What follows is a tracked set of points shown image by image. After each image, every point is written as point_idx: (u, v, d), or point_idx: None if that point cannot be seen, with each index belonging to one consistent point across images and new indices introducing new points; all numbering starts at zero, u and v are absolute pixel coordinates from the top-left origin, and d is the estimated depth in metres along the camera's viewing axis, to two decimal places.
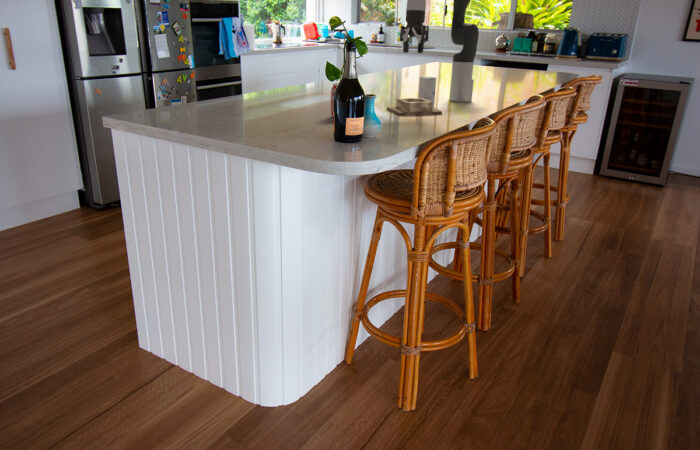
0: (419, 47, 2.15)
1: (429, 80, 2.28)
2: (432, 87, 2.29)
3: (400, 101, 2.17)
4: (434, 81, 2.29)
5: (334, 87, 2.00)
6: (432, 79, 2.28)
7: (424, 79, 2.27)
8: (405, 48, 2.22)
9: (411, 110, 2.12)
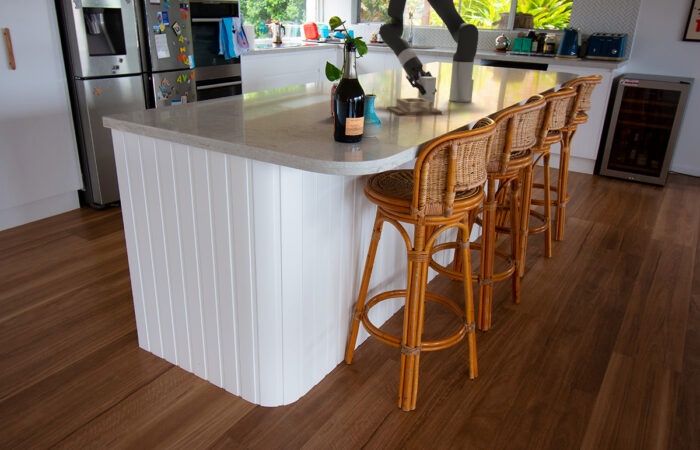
0: (420, 91, 2.29)
1: (429, 80, 2.28)
2: (432, 87, 2.29)
3: (400, 101, 2.17)
4: (434, 81, 2.29)
5: (334, 87, 2.00)
6: (432, 79, 2.28)
7: (424, 79, 2.27)
8: None
9: (411, 110, 2.12)
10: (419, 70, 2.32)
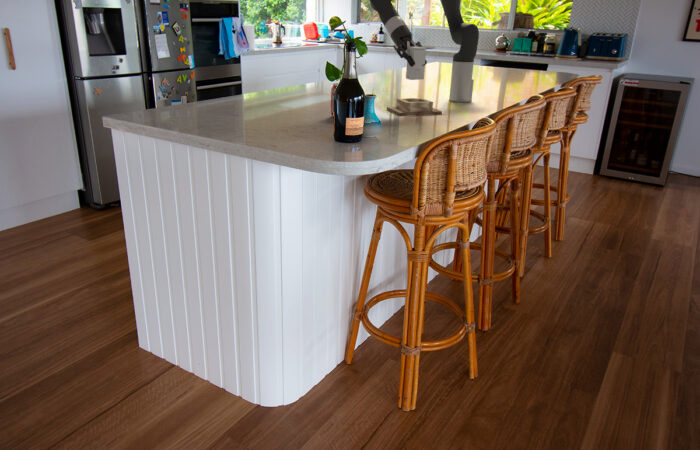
0: None
1: (418, 50, 2.09)
2: (421, 58, 2.10)
3: (400, 101, 2.17)
4: (424, 51, 2.10)
5: (334, 87, 2.00)
6: (421, 49, 2.09)
7: (413, 49, 2.08)
8: None
9: (411, 110, 2.12)
10: (408, 40, 2.13)
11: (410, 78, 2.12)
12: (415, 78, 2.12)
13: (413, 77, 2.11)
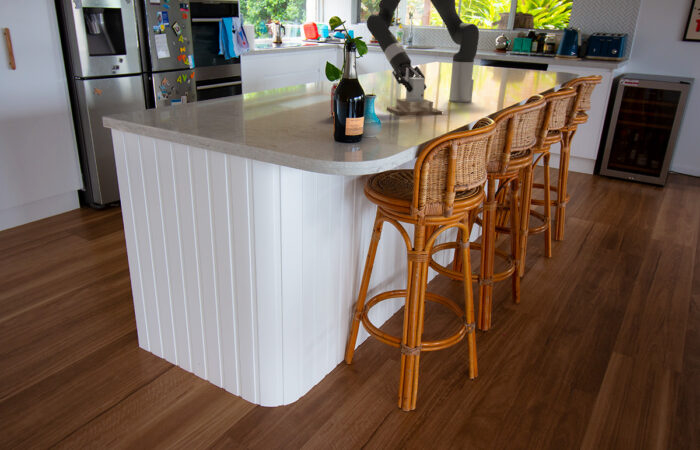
0: (406, 88, 2.13)
1: (417, 81, 2.13)
2: (420, 88, 2.15)
3: (400, 101, 2.17)
4: (422, 82, 2.15)
5: (334, 87, 2.00)
6: (420, 80, 2.14)
7: (412, 80, 2.12)
8: None
9: (411, 110, 2.12)
10: (407, 66, 2.17)
11: None
12: None
13: None
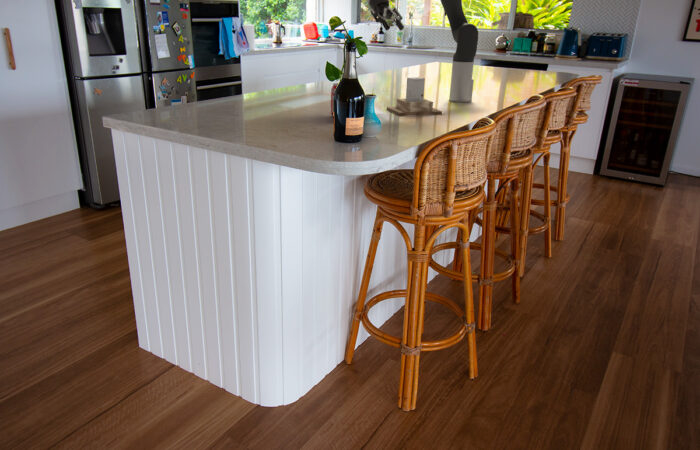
0: (384, 26, 2.22)
1: (417, 81, 2.13)
2: (420, 88, 2.15)
3: (400, 101, 2.17)
4: (422, 82, 2.15)
5: (334, 87, 2.00)
6: (420, 80, 2.14)
7: (412, 80, 2.12)
8: (398, 27, 2.27)
9: (411, 110, 2.12)
10: (385, 7, 2.26)
11: None
12: None
13: None
